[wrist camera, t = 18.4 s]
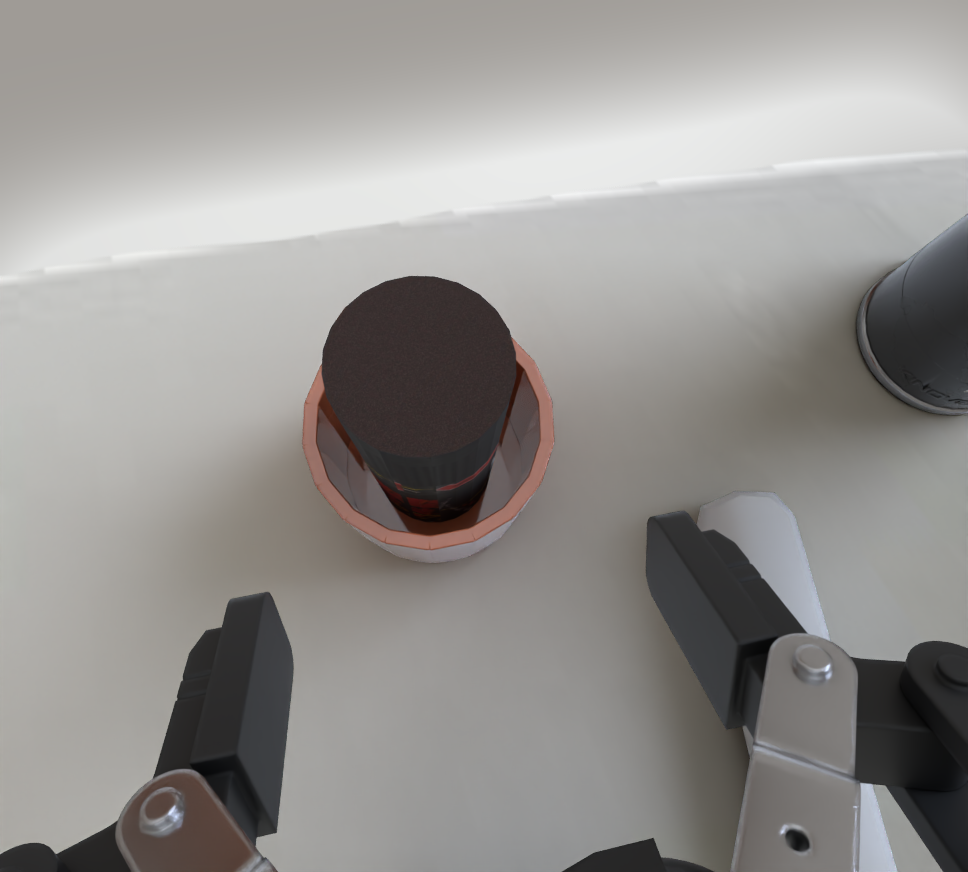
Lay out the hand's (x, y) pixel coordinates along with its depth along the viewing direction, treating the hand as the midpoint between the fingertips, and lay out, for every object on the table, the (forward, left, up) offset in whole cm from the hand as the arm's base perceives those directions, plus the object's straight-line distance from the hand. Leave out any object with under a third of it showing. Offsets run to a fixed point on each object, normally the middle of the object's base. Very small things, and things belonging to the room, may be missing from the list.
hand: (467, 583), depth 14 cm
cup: (-5, -5, -20) cm, 21 cm away
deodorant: (-5, -4, -20) cm, 21 cm away
